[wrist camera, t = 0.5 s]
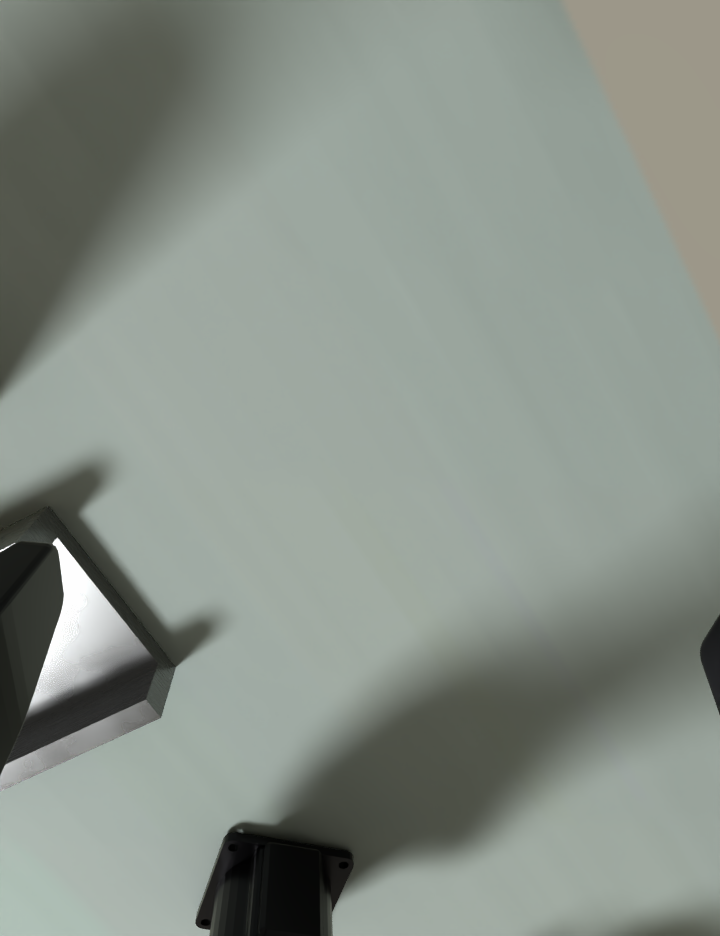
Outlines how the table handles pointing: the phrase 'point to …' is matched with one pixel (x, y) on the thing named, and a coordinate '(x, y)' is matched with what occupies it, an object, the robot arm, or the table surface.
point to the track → (85, 664)
